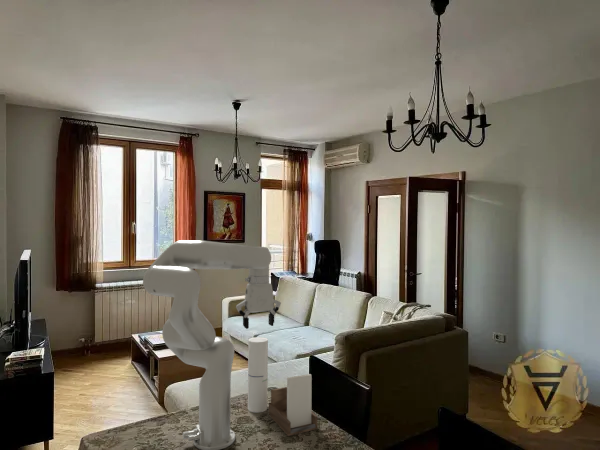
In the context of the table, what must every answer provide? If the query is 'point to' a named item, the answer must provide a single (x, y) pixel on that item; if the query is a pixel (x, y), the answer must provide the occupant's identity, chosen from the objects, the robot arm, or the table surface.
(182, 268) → the robot arm
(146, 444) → the table surface
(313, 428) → the brown wooden tray
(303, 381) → the block
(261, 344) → the cylindrical container
